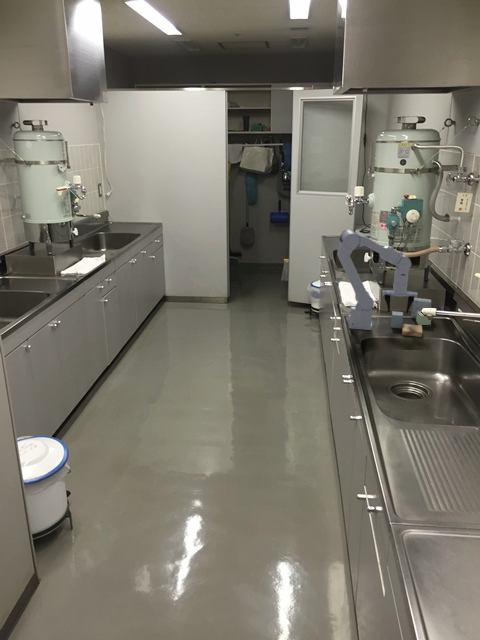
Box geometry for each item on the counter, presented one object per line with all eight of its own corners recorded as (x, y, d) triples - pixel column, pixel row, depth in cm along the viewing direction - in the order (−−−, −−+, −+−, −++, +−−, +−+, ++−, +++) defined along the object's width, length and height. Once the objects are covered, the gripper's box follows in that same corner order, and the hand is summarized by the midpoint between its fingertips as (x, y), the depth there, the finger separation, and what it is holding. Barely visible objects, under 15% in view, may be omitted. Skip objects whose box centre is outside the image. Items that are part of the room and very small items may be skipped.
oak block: (402, 335, 222) (402, 330, 221) (402, 328, 229) (402, 323, 229) (421, 336, 220) (422, 332, 219) (421, 329, 227) (421, 325, 226)
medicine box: (429, 317, 241) (431, 299, 238) (428, 320, 237) (430, 302, 234) (412, 314, 244) (413, 297, 241) (410, 318, 240) (412, 300, 237)
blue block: (391, 327, 230) (392, 314, 228) (391, 323, 234) (392, 311, 232) (401, 328, 229) (402, 315, 227) (401, 324, 233) (402, 312, 231)
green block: (418, 325, 232) (419, 315, 230) (415, 320, 237) (417, 310, 235) (430, 326, 231) (431, 315, 229) (427, 321, 237) (428, 310, 235)
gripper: (382, 284, 223) (380, 313, 228) (418, 286, 219) (415, 316, 224) (383, 279, 229) (381, 308, 234) (418, 281, 225) (415, 310, 230)
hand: (397, 311), depth 229 cm, fingers open, 7 cm apart
